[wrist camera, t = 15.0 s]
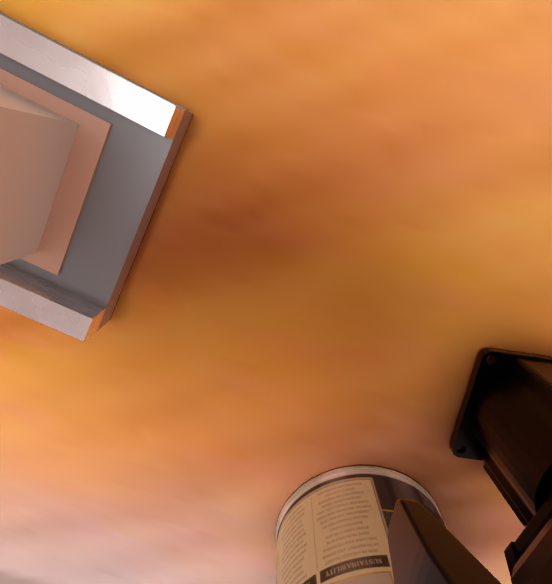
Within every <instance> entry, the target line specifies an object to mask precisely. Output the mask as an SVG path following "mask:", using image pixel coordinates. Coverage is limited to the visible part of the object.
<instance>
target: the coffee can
mask: <svg viewBox="0 0 552 584" xmlns="http://www.w3.org/2000/svg"><path fill="white" fill-rule="evenodd" d="M401 498H402V499H410V500H416V501H418V502H420V503H421V504H422V505H423V506H424V507H425V508H426V509H427V510H428V511H429V512H430V513H431V514H432V515H433V516H434V517H435V518H436V519H437V520H438V521H439V522H440V523H441V524H442V525H443V526H444V527H445V525H444V523H443V521H442V518H441V514H440V511H439V509H438V507H437V505H436V503H435V501H434V500H433V498H432V497H431V495H430V494H429V493H428V492H427V490H426V489H424V488H423V487H422V486H421V485H420V484H418V483H417V482H416V481H414V480H413V479H411V478H409V477H408V476H406V475H404V474H402V473H399V472H397V471H394V470H391V469H387V468H383V467H377V466H365V465H358V466H349V467H343V468H338V469H334V470H331V471H328V472H326V473H323V474H321V475H319V476H317V477H315V478H313V479H311V480H309V481H308V482H306V483H304V484H303V485H302V486H301V487H299V488H298V489H297V490H296V492H295V493H294V494H293V495H291V497H290V498H289V499H288V500H287V502H286V503H285V505H284V507H283V508H282V510H281V513H280V515H279V518H278V521H277V526H276V532H275V539H276V548H277V576H276V584H394V578H393V572H392V565H391V558H390V552H389V545H388V528H389V525H390V521H391V518H392V514H393V511H394V507H395V504H396V502H397V500H398V499H401ZM445 528H446V527H445Z"/></svg>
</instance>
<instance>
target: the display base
mask: <svg viewBox="0 0 552 584" xmlns="http://www.w3.org/2000/svg"><path fill="white" fill-rule="evenodd" d="M0 85H1V86H3V87H5V88H7V89H9V90H11V91H13V92H15V93H17V94H19V95H21V96H23V97H25V98H27V99H29V100H31V101H33V102H35V103H37V104H39V105H41V106H43V107H45V108H47V109H49V110H51V111H53V112H55V113H57V114H59V115H61V116H63V117H65V118H67V119H69V120H71V121H73V122H75V123H77V124H79V126H78V129H77V132H76V135H75V138H74V141H73V144H72V147H71V150H70V153H69V156H68V159H67V162H66V165H65V169H64V172H63V175H62V178H61V181H60V184H59V187H58V190H57V193H56V196H55V199H54V202H53V205H52V208H51V211H50V214H49V217H48V220H47V223H46V226H45V229H44V232H43V235H42V238H41V241H40V244H39V247H38V250H37V253H34V254H31V255H28V256H25V257H22V258H19V259H16V260H13V261H10V262H7V263H5V264H2V265H0V306H3V307H5V308H7V309H10V310H12V311H14V312H16V313H19V314H21V315H23V316H26V317H28V318H30V319H33V320H35V321H37V322H39V323H42V324H44V325H46V326H49V327H51V328H53V329H56V330H58V331H60V332H62V333H65V334H67V335H69V336H72V337H74V338H76V339H79V340H81V341H83V342H84V341H85V340H86V339H87V338H88V337H89V336H91V335H92V334H93V333H94V332H95V331H98V330H99V329H100V328H101V327H102V326H103V325H104V324H105V323H107V322H108V321H109V320H110V317H111V315H112V313H113V310H114V308H115V305H116V303H117V300H118V298H119V295H120V293H121V290H122V288H123V285H124V283H125V280H126V278H127V275H128V273H129V271H130V268H131V266H132V263H133V261H134V258H135V256H136V253H137V251H138V248H139V246H140V243H141V241H142V238H143V236H144V233H145V231H146V229H147V226H148V224H149V221H150V219H151V216H152V214H153V211H154V209H155V206H156V204H157V201H158V199H159V196H160V194H161V191H162V189H163V187H164V184H165V182H166V179H167V177H168V174H169V172H170V169H171V167H172V164H173V162H174V159H175V157H176V154H177V152H178V149H179V147H180V145H181V142H182V140H183V137H184V135H185V132H186V130H187V127H188V125H189V122H190V120H191V117H192V115H193V114H192V113H191V112H189V111H187V110H186V109H184V108H182V107H180V106H178V105H176V104H175V103H173V102H171V101H169V100H167V99H165V98H163V97H161V96H159V95H157V94H155V93H154V92H152V91H150V90H148V89H146V88H144V87H142V86H140V85H138V84H136V83H134V82H133V81H131V80H129V79H127V78H125V77H123V76H121V75H119V74H117V73H115V72H113V71H112V70H110V69H108V68H106V67H104V66H102V65H100V64H98V63H96V62H94V61H92V60H91V59H89V58H87V57H85V56H83V55H81V54H79V53H77V52H75V51H73V50H71V49H70V48H68V47H66V46H64V45H62V44H60V43H58V42H56V41H54V40H52V39H50V38H49V37H47V36H45V35H43V34H41V33H39V32H37V31H35V30H33V29H31V28H29V27H28V26H26V25H24V24H22V23H20V22H18V21H16V20H14V19H12V18H10V17H8V16H7V15H5V14H3V13H1V12H0Z"/></svg>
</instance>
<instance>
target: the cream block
mask: <svg viewBox="0 0 552 584" xmlns="http://www.w3.org/2000/svg"><path fill="white" fill-rule="evenodd" d="M78 126H79V124H77V123H75V122H73V121H71V120H69V119H67V118H65V117H63V116H61V115H59V114H57V113H55V112H53V111H51V110H49V109H47V108H45V107H43V106H41V105H39V104H37V103H35V102H33V101H31V100H29V99H27V98H25V97H23V96H21V95H19V94H17V93H15V92H13V91H11V90H9V89H7V88H5V87H3V86H1V85H0V265H2V264H5V263H7V262H10V261H13V260H16V259H19V258H22V257H25V256H28V255H31V254H34V253H37V250H38V247H39V244H40V241H41V238H42V235H43V232H44V229H45V226H46V223H47V220H48V217H49V214H50V211H51V208H52V205H53V202H54V199H55V196H56V193H57V190H58V187H59V184H60V181H61V178H62V175H63V172H64V169H65V165H66V162H67V159H68V156H69V153H70V150H71V147H72V144H73V141H74V138H75V135H76V132H77V129H78Z"/></svg>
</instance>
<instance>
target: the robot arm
mask: <svg viewBox="0 0 552 584" xmlns="http://www.w3.org/2000/svg"><path fill="white" fill-rule="evenodd" d="M489 356H492V359H491V360H489V361H486V359H487V358H488V357H489ZM460 446H463V447H462V448H460V449H458V447H460ZM450 449H451V451H452V452H453V454H454V455H455V456H457V457H461V458H468V459H476V460H483V461H484V462H485V463H484V466H483V467H484V469H485V470H486V472H487V473H488V475H489V476H490V478H491V479H492V481H493V482H494V484H495V485H496V486H497V488H498V489H499V491H500V492H501V494H502V495H503V497H504V498H505V500H506V501H507V502H508V504H509V505H510V507H511V508H512V510H513V511H514V513H515V514H516V516H517V517H518V518H519V520H520V521H521V523H522V524H523V526H524V527H525V529H524V530H523V532H522V533H521V534H520V536H519V537H518V538H517V540H516V541H515V542H511V543H510V544H509V545H508V547H507V548H506V549H505V551H504V553H505V557H506V561H507V564H508V568H509V572H510V576H511V582H512V584H552V357H549V356H542V355H535V354H528V353H521V352H514V351H507V350H500V349H493V348H486V349H483V350H482V351H481V352H480V353H479V355H478V357H477V361H476V364H475V367H474V370H473V373H472V376H471V379H470V383H469V386H468V389H467V392H466V395H465V398H464V401H463V405H462V408H461V411H460V414H459V417H458V420H457V423H456V427H455V430H454V433H453V436H452V439H451V442H450ZM388 545H389V552H390V558H391V565H392V572H393V578H394V584H501V583H500V582H499V581H498V580H497V579H496V578H495V577H494V576H493V575H492V574H491V573H490V572H489V571H488V570H487V569H486V568H485V567H484V566H483V565H482V564H481V563H480V562H479V561H478V560H477V559H476V558H475V557H474V556H473V555H472V554H471V553H470V552H469V551H468V550H467V549H466V548H465V547H464V546H463V545H462V544H461V543H460V542H459V541H458V540H457V539H456V538H455V537H454V536H453V535H452V534H451V533H450V532H449V531H448V530H447V529H446V528H445V527H444V526H443V525H442V524H441V523H440V522H439V521H438V520H437V519H436V518H435V517H434V516H433V515H432V514H431V513H430V512H429V511H428V510H427V509H426V508H425V507H424V506H423V505H422V504H421V503H420V502H418V501H416V500H410V499H402V498H401V499H398V500H397V502H396V504H395V507H394V511H393V514H392V518H391V521H390V525H389V528H388Z"/></svg>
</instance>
